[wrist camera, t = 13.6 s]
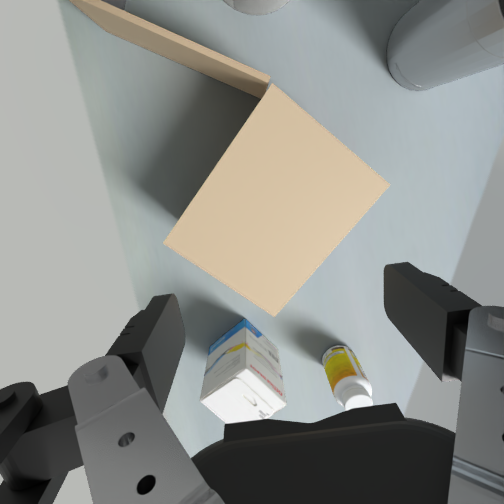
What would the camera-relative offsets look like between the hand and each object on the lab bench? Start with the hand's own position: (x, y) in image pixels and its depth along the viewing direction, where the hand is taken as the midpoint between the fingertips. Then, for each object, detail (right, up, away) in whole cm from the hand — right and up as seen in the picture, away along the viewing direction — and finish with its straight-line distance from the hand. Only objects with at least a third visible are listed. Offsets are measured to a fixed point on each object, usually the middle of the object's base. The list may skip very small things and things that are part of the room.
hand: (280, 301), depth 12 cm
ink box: (-2, -14, +39) cm, 42 cm away
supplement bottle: (+14, -16, +40) cm, 45 cm away
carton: (+1, +9, +31) cm, 32 cm away
